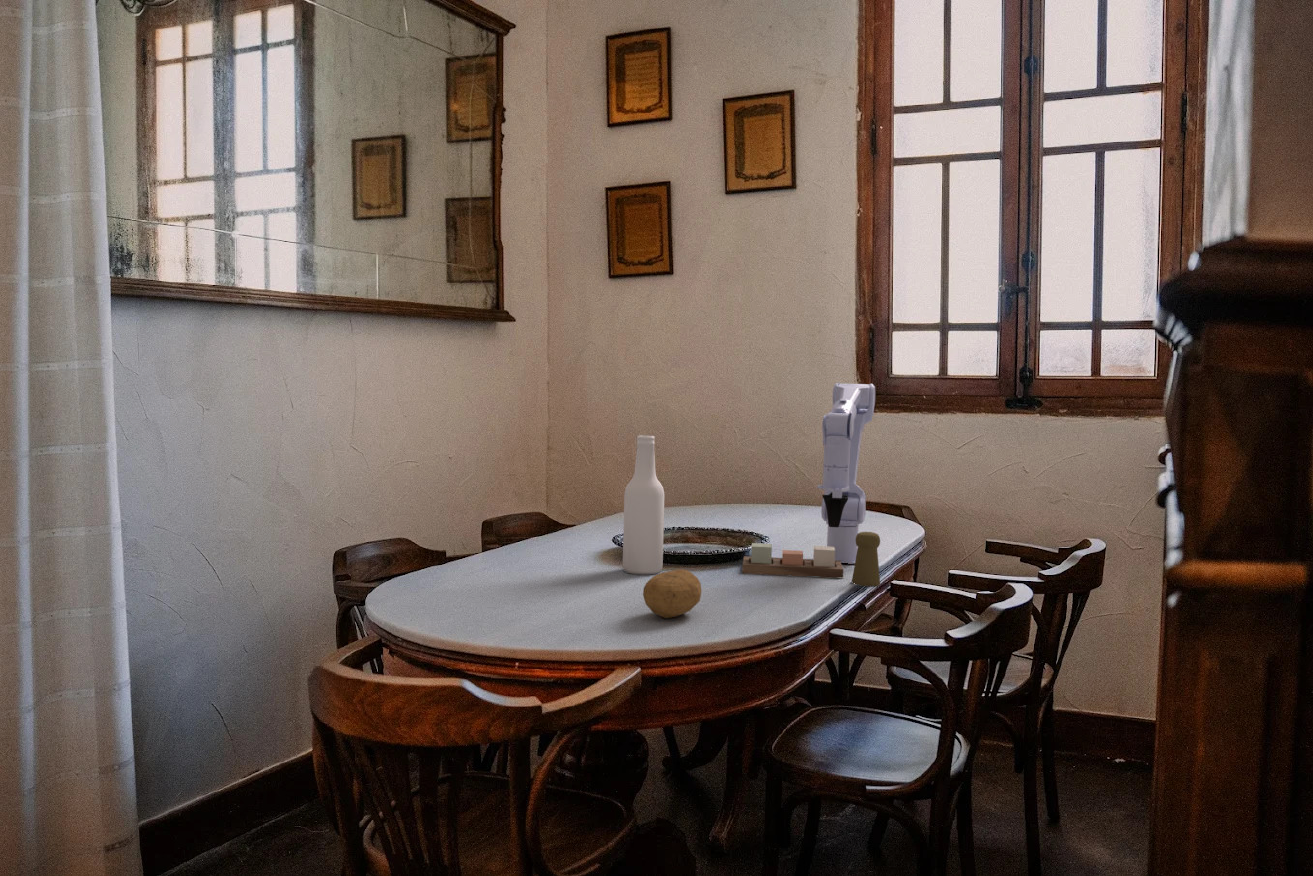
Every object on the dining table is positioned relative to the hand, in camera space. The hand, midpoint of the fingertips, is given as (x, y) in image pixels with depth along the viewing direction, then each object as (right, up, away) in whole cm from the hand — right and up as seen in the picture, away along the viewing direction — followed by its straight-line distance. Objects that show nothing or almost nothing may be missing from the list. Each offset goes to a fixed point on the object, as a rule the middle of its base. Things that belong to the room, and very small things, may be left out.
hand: (833, 526), depth 231 cm
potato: (-37, -13, -43) cm, 58 cm away
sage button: (-16, -8, +2) cm, 18 cm away
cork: (+5, -11, -9) cm, 16 cm away
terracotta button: (-9, -10, +1) cm, 13 cm away
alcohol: (-43, -10, -3) cm, 44 cm away
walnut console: (-9, -10, +1) cm, 14 cm away
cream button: (-2, -9, 0) cm, 9 cm away
